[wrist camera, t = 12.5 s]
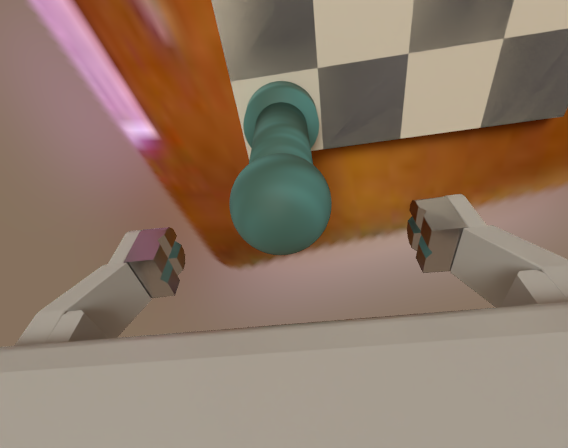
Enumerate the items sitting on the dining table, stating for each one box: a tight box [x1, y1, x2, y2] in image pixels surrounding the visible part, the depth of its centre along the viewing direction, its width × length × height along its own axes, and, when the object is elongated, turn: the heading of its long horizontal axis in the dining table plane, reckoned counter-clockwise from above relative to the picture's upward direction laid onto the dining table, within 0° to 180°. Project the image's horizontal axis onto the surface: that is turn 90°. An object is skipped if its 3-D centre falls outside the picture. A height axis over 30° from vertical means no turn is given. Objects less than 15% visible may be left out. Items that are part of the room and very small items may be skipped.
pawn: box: [230, 81, 331, 255], centre depth 15 cm, size 4×4×11 cm
